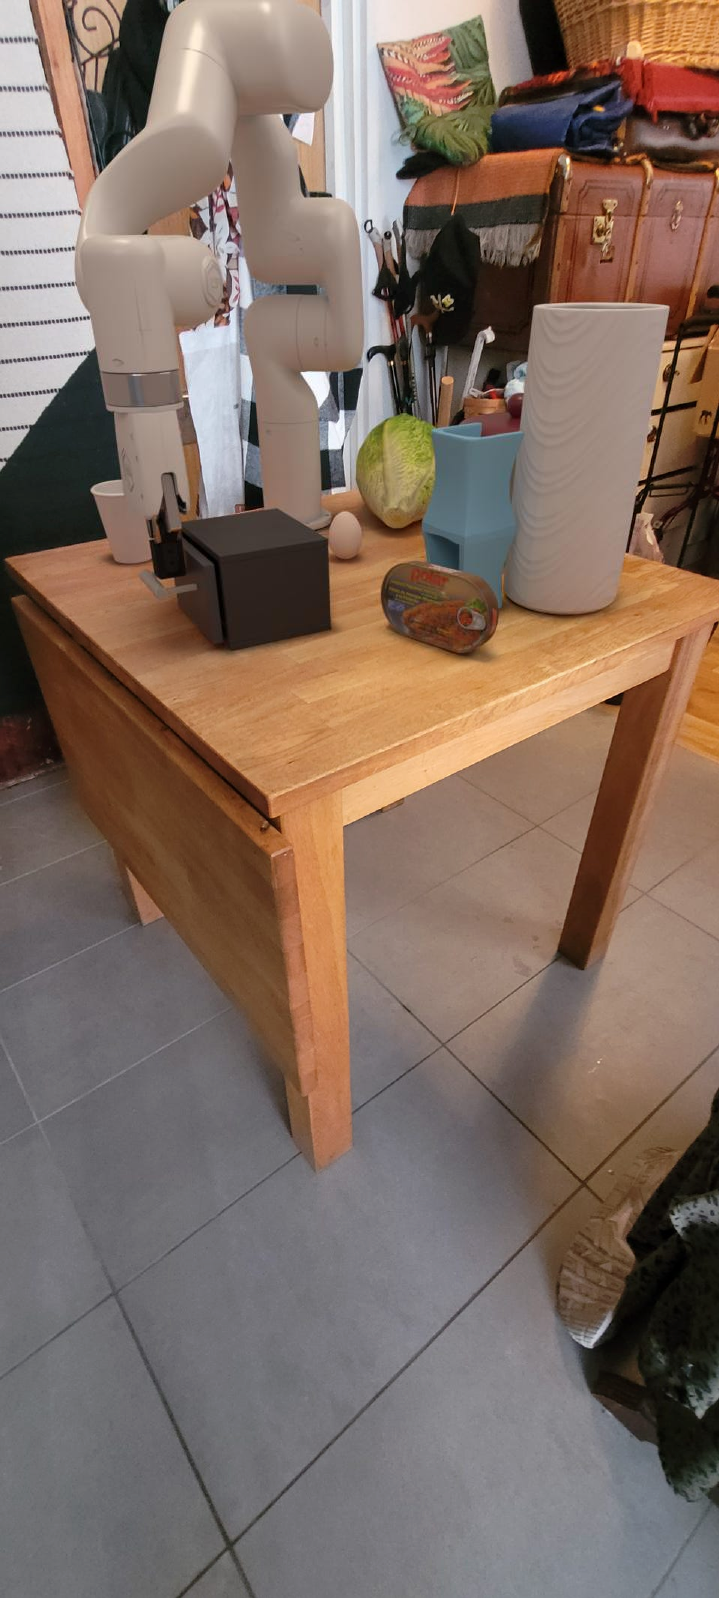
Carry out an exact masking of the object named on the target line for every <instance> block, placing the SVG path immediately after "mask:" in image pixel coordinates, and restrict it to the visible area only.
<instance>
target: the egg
mask: <svg viewBox="0 0 719 1598" xmlns="http://www.w3.org/2000/svg"><path fill="white" fill-rule="evenodd" d="M362 542H363V532H362V527H361V525H360V523H359V521H358V519H357V517H356V515H354V514H353V513H351V512H349V511H346V510H345V511H344V510H343V511H340V512H339V513H337V514H336V515H335V516H334V517H333V518H332V521H331V523H330V526H329V529H328V545H329V548H330V549H331V552H332V553H333V554H334V555H335V556H336V557H337V558H338V559H341V560H351V559H352V558H354V557H355V556H356V555H357V554H358V553H359V551H360V549H361V548H362V547H361V546H362Z"/></svg>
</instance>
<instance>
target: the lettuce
mask: <svg viewBox="0 0 719 1598" xmlns="http://www.w3.org/2000/svg"><path fill="white" fill-rule="evenodd" d="M436 428H437V427H436V425H433V424H431V423H429V422H428V421H426V420H424V419H422V418H419V417H417V416H413V415H411V414H408V413H406V412H403V413H400V414H397V415H393V416H392V417H391V416H390V417H387V418H385V419H384V420H383V421H382V422H380V423H379V424H377V425H375V427H373V428H372V429H371V430H370V432H369V433H368V434H367V436H366V438H365V439H364V441H363V443H362V445H361V446H360V447H359V449H358V452H357V456H356V462H355V482H356V486H357V488H358V492H359V494H360V497H361V499H362V501H363V502H364V503H365V504H366V506H367V507H368V509H369V510H370V511H371V512H372V513H373V514H374V515H375V516H376V517H378V519H380V520H381V522H383V523H384V524H385V525H386V526H387V527H389V528H391V529H402V528H403V529H404V528H405V527H407V526H409V525H411V524H412V523H416V522H419V521H422V520H423V518H424V515H425V513H426V510H427V508H428V505H429V502H430V499H431V495H432V492H433V487H434V481H435V456H434V448H433V442H432V435H431V430H432V429H436Z"/></svg>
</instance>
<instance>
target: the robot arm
mask: <svg viewBox="0 0 719 1598" xmlns="http://www.w3.org/2000/svg"><path fill="white" fill-rule="evenodd" d="M334 62H335V60H334V51H333V45H332V41H331V36H330V33H329V30H328V27H327V25H326V23H325V21H324V19H323V18H322V16H321V15H320V14H319V12H318V11H317V10H316V9H314V8H312V7H311V6H308V5H306V4H304V3H302V2H301V1H298V0H184V1H182V2H180V3H179V4H177V5H176V6H175V7H174V8H173V10H172V11H171V12H170V14H169V16H168V18H167V20H166V23H165V26H164V31H163V34H162V39H161V45H160V50H159V56H158V60H157V66H156V70H155V76H154V83H153V87H152V92H151V97H150V101H149V102H150V103H149V106H148V111H147V118H146V123H145V126H144V128H143V129H142V130H141V131H140V132H138V133H137V135H135V136H134V137H133V138H132V139H131V140H130V141H128V143H126V144H125V146H124V147H123V148H122V149H121V150H120V151H119V152H118V153H117V154H116V155H115V156H114V158H113V159H111V161H110V162H109V163H107V165H106V166H105V168H104V169H103V170H102V171H101V172H100V174H99V175H98V176H97V178H96V179H95V180H94V182H93V183H92V185H91V187H90V188H89V191H88V192H87V194H86V197H85V200H84V203H83V207H82V212H81V217H80V222H79V225H78V226H79V227H78V231H77V237H76V243H75V252H74V279H75V285H76V290H77V292H78V296H79V298H80V301H81V303H82V305H83V306H84V308H85V309H86V310H87V312H88V314H89V316H90V321H91V329H92V334H93V338H94V339H93V340H94V346H95V351H96V356H97V362H98V368H99V374H100V379H101V385H102V391H103V397H104V402H105V408H106V410H107V411H108V412H112V413H113V415H114V416H113V417H114V430H115V439H116V446H117V454H118V462H119V469H120V477H121V480H122V485H123V492H124V497H125V500H126V502H127V503H128V504H129V505H130V506H131V507H132V508H133V509H134V510H135V511H136V512H137V513H138V514H139V515H141V516H142V517H143V518H145V519H146V524H147V529H148V534H149V537H150V539H152V538H153V539H152V540H149V543H150V549H151V555H152V559H151V561H152V567H153V572H154V573H155V575H156V576H157V577H158V578H157V579H158V580H161V581H162V580H169V579H174V578H176V577H182V576H185V575H186V566H185V559H184V551H183V544H182V536H181V531H182V524H181V522H182V520H181V516H180V514H181V515H183V516H187V515H188V514H189V512H190V511H191V493H190V486H189V485H190V484H189V478H188V471H187V465H186V464H187V463H186V457H185V452H184V445H183V440H182V435H181V434H182V433H181V432H182V431H181V429H180V424H179V419H178V414H177V410H179V409H183V408H184V407H185V403H184V395H183V385H182V379H181V370H180V363H179V362H180V361H179V355H178V345H177V338H176V337H177V336H176V330H175V329H176V328H175V327H195V326H200V325H203V324H205V323H207V322H209V321H210V320H211V319H212V318H214V316H215V315H216V314H217V312H218V310H219V308H220V307H221V303H222V300H223V294H224V279H223V275H222V274H223V273H222V269H221V267H220V266H221V265H220V263H219V260H218V259H217V257H216V255H215V254H214V252H213V250H211V248H210V247H209V246H208V245H207V244H205V243H204V242H203V241H201V240H200V239H198V238H196V237H193V236H190V235H184V234H154V235H153V234H144V233H145V232H146V231H147V230H148V229H149V228H151V227H152V226H153V225H155V224H156V223H158V222H160V221H162V220H164V219H166V218H167V217H169V216H170V217H171V215H173V214H176V213H178V212H180V211H182V210H184V209H186V208H189V207H191V206H193V205H195V204H196V203H198V202H200V201H201V200H203V199H205V198H206V197H208V196H210V195H212V194H213V193H214V192H215V191H216V190H218V189H219V187H220V186H221V185H222V184H223V182H224V180H225V179H226V177H227V174H228V171H229V166H230V163H231V168H232V174H233V181H234V188H235V197H236V204H237V205H236V206H237V211H238V219H239V221H238V222H239V226H240V235H241V241H242V249H243V254H244V259H245V263H246V267H247V270H248V272H249V274H250V276H251V277H252V278H253V279H254V280H255V281H257V282H258V283H262V284H266V285H272V286H273V285H275V286H321V287H323V289H324V290H325V292H326V294H304V293H303V294H302V293H301V294H295V293H293V294H292V293H291V294H287V293H286V294H268V295H265V296H261V297H259V298H258V297H257V298H256V299H254V300H253V301H252V302H251V303H250V304H249V305H248V307H247V308H246V309H245V312H244V315H243V321H242V322H243V323H242V328H243V329H242V330H243V338H244V344H245V348H246V353H247V356H248V361H249V365H250V369H251V376H252V381H253V387H254V388H253V389H254V395H255V396H254V398H255V408H256V422H257V433H258V444H259V445H258V447H259V459H260V471H261V484H262V499H263V510H268V509H275V508H278V509H279V510H281V511H283V512H284V513H286V514H288V515H289V516H291V517H293V518H294V519H296V520H298V521H299V522H301V523H303V524H304V525H306V526H308V527H309V528H311V529H313V530H314V531H316V530H320V529H324V528H325V527H327V526H329V525H331V523H332V521H333V515H332V513H331V511H329V510H327V509H326V508H323V497H322V496H323V495H322V494H323V493H322V468H321V465H322V464H321V445H320V444H321V440H320V416H319V415H320V411H319V404H318V400H317V396H316V394H315V393H314V391H313V389H312V388H311V386H310V385H309V383H308V382H307V380H306V378H304V376H303V374H302V373H307V372H308V373H309V372H311V373H312V372H313V373H314V372H315V373H317V372H318V373H341V372H343V373H344V372H349V371H352V370H354V369H356V368H357V367H358V366H359V365H360V363H361V361H362V358H363V356H364V355H363V354H364V349H365V316H364V313H365V312H364V293H363V272H362V271H363V270H362V269H363V268H362V267H363V266H362V248H361V237H360V229H359V224H358V220H357V217H356V214H355V212H354V210H353V208H352V207H351V205H350V204H349V203H348V202H347V201H345V200H343V199H341V198H338V197H331V196H326V197H325V196H324V197H321V196H320V197H306V196H304V194H303V192H302V187H301V178H300V176H301V175H300V167H299V154H298V149H297V145H296V143H295V140H294V137H293V136H292V134H291V132H290V131H289V128H288V127H287V125H286V123H285V121H284V120H283V119H282V117H281V116H280V115H295V114H298V115H299V114H300V115H302V114H303V115H304V114H313V113H317V112H319V111H321V110H322V108H324V106H325V105H326V104H327V102H328V100H329V98H330V95H331V92H332V88H333V84H334V83H333V82H334V73H335V67H334V66H335V63H334Z"/></svg>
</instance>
